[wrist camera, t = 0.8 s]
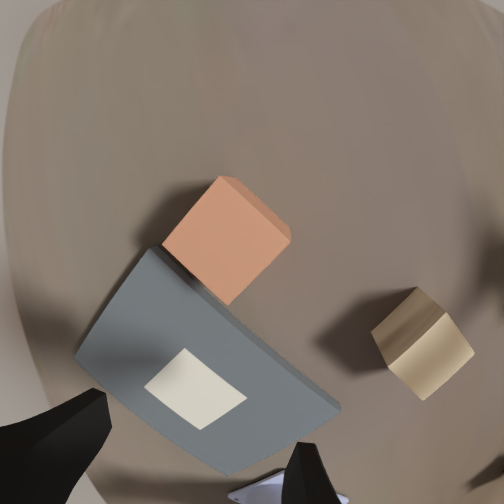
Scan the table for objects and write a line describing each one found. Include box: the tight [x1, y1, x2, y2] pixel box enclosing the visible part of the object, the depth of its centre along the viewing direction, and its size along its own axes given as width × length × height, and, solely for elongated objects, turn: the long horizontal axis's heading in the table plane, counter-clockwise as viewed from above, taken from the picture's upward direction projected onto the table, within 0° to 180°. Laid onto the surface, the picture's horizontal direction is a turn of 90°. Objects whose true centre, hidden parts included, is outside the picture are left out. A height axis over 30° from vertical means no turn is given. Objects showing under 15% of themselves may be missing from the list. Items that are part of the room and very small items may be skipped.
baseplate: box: [73, 245, 341, 476], centre depth 19 cm, size 16×12×1 cm
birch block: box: [371, 287, 475, 400], centre depth 15 cm, size 4×4×4 cm
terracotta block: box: [162, 176, 291, 306], centre depth 15 cm, size 4×4×4 cm
